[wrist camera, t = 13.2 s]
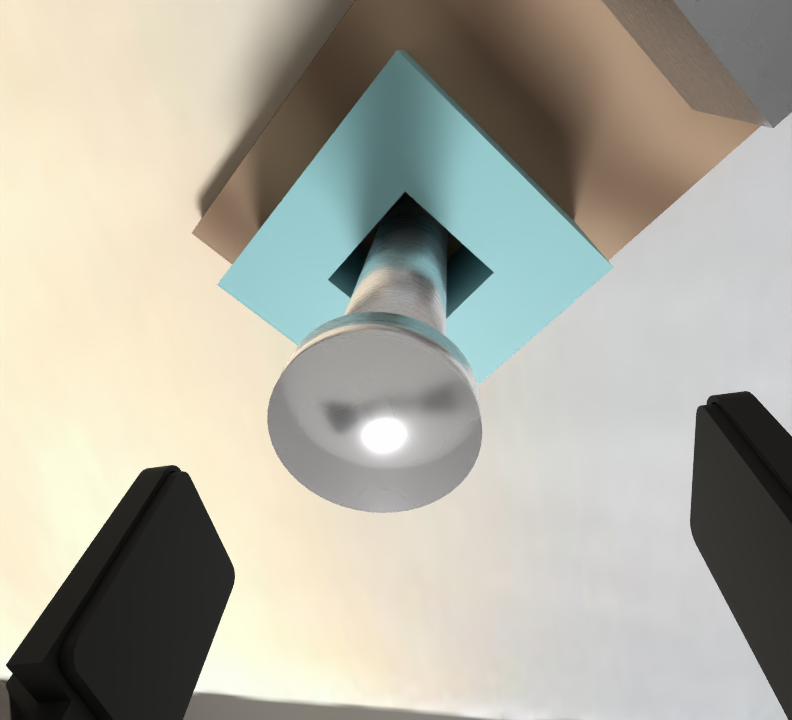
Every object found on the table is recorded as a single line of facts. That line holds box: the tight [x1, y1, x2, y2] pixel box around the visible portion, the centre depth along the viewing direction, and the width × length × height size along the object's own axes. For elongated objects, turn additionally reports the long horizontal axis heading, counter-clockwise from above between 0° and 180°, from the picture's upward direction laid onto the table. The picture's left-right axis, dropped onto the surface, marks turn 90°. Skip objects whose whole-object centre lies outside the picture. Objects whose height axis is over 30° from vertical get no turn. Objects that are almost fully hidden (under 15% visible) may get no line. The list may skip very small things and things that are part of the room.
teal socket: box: [217, 50, 613, 385], centre depth 23 cm, size 10×10×6 cm
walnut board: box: [192, 0, 761, 265], centre depth 23 cm, size 30×15×2 cm, turn 139°
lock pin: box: [267, 195, 482, 513], centre depth 19 cm, size 5×5×15 cm
